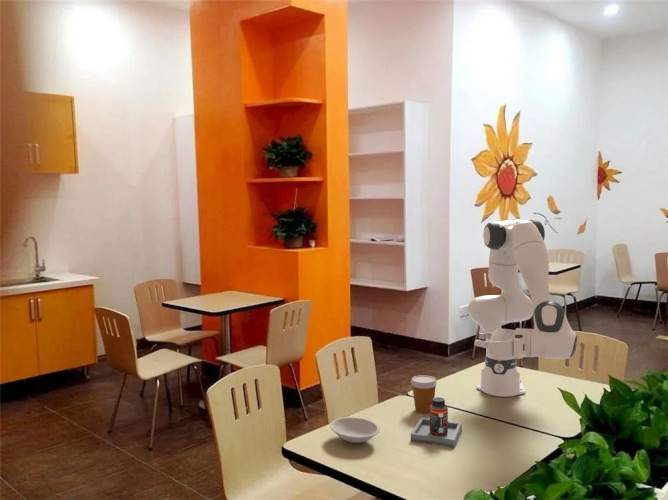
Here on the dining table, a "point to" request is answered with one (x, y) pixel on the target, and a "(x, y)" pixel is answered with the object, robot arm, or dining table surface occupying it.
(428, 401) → the disposable coffee cup
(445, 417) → the supplement bottle
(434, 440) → the tray
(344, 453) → the dining table surface
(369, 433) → the dish
